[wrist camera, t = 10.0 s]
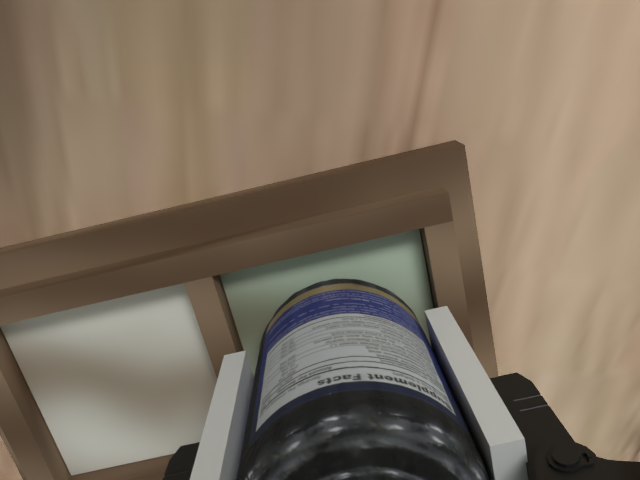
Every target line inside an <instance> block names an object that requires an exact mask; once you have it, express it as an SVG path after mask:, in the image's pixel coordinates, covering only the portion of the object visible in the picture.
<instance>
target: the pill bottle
mask: <svg viewBox="0 0 640 480" xmlns="http://www.w3.org/2000/svg"><path fill="white" fill-rule="evenodd" d="M237 480H491V479H490V476H489V473H488V471H487V468H486V465H485V462H484V460H483V459H482V457H481V454H480V452H479V450H478V448H477V446H476V444H475V441H474V439H473V437H472V435H471V433H470V431H469V429H468V427H467V424H466V422H465V420H464V418H463V416H462V413H461V411H460V409H459V407H458V405H457V402H456V400H455V398H454V396H453V394H452V392H451V390H450V387H449V385H448V383H447V381H446V378H445V376H444V374H443V372H442V369H441V367H440V365H439V363H438V361H437V359H436V357H435V354H434V352H433V350H432V348H431V346H430V344H429V341H428V339H427V337H426V335H425V333H424V331H423V329H422V327H421V325H420V323H419V321H418V319H417V317H416V315H415V314H414V312H413V311H412V309H411V308H410V307H409V306H408V305H407V304H406V303H405V302H404V301H403V300H402V299H400V298H399V297H398V296H397V295H396V294H395V293H393V292H391V291H389V290H388V289H386V288H383V287H381V286H378V285H376V284H373V283H370V282H366V281H363V280H358V279H330V280H326V281H321V282H318V283H315V284H312V285H310V286H308V287H306V288H303V289H302V290H300V291H298V292H295V293H294V294H293V295H291V296H290V297H289V298H288V299H287V300H286V301H285V302H284V303H283V304H282V305H281V306H280V307H279V308H278V309H277V310H276V312H275V314H274V315H273V317H272V319H271V321H270V322H269V323H268V325H267V326H266V329H265V331H264V333H263V336H262V339H261V342H260V347H259V355H258V360H257V365H256V370H255V376H254V383H253V388H252V393H251V399H250V404H249V411H248V417H247V423H246V428H245V434H244V440H243V446H242V452H241V457H240V464H239V469H238V475H237Z"/></svg>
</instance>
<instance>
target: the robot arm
mask: <svg viewBox="0 0 640 480" xmlns="http://www.w3.org/2000/svg"><path fill="white" fill-rule="evenodd" d="M425 317H426V322H427V327H428V333H429V338H430V343H431V348H432V350H433V352H434V354H435V357H436V359H437V361H438V363H439V365H440V367H441V369H442V372H443V374H444V376H445V378H446V381H447V383H448V385H449V387H450V390H451V392H452V394H453V396H454V398H455V400H456V402H457V405H458V407H459V409H460V411H461V413H462V416H463V418H464V420H465V422H466V424H467V427H468V429H469V431H470V433H471V435H472V437H473V439H474V441H475V444H476V446H477V448H478V450H479V452H480V454H481V457H482V459H483V460H484V462H485V465H486V468H487V471H488V473H489V476H490V479H491V480H640V462H630V461H614V460H606V459H603V458H599V457H596V455H595V453H593V452H592V451H591V450H590V449H588V448H587V447H586V446H583V445H581V444H578V443H576V442H574V440H573V439H572V437H571V436H570V435H569V433H568V432H567V430H566V429H565V428H564V426H563V425H562V423H561V422H560V421H559V419H558V418H557V416H556V415H555V414H554V412H553V411H552V409H551V408H550V407H549V406H548V405H547V402H546V401H545V400H544V398H543V397H542V396H541V395H540V393H539V391H538V390H537V388H536V387H535V386H534V384H533V383H532V381H530V380H528V379H527V378H525V377H523V376H522V375H520V374H518V373H513V374H508V375H503V376H499V377H494V378H489V377H488V375H487V373H486V372H485V370H484V368H483V367H482V365H481V363H480V362H479V360H478V358H477V356H476V355H475V353H474V351H473V350H472V348H471V346H470V344H469V343H468V341H467V339H466V338H465V336H464V334H463V333H462V331H461V329H460V327H459V326H458V324H457V322H456V321H455V319H454V317H453V315H452V314H451V312H450V310H449V309H448V307H447V306H444V307H439V308H435V309H430V310H426V311H425ZM253 383H254V375H253V372H252V369H251V365H250V362H249V359H248V356H247V353H246V351H241V352H237V353H232V354H228V355H224V358H223V361H222V365H221V368H220V372H219V376H218V379H217V383H216V386H215V390H214V394H213V397H212V401H211V404H210V408H209V412H208V415H207V419H206V423H205V426H204V430H203V433H202V437H201V441H200V442H197V443H193V444H188V445H183V446H180V447H179V449H178V450H177V451H176V452H175V454H174V455H173V456H172V457H171V459H170V460H169V462H168V465H167V468H166V471H165V474H164V476H165V477H164V478H163V480H237V475H238V469H239V464H240V457H241V452H242V446H243V440H244V434H245V428H246V423H247V417H248V411H249V404H250V399H251V393H252V388H253Z"/></svg>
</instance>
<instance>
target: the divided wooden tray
mask: <svg viewBox="0 0 640 480" xmlns="http://www.w3.org/2000/svg"><path fill="white" fill-rule="evenodd" d="M330 279H358V280H363V281H366V282H370V283H373V284H376V285H378V286H381V287H383V288H386V289H388V290H389V291H391V292H393V293H395V294H396V295H397V296H398V297H399V298H400V299H402V300H403V301H404V302H405V303H406V304H407V305H408V306H409V307H410V308H411V309H412V311H413V312H414V314H415V315H416V317H417V319H418V321H419V323H420V325H421V327H422V329H423V331H424V333H425V335H426V337H427V339H428V341H429V344H430V346H431V343H430V338H429V333H428V327H427V322H426V317H425V311H426V310H430V309H435V308H439V307H444V306H447V307H448V309H449V310H450V312H451V314H452V315H453V317H454V319H455V321H456V322H457V324H458V326H459V327H460V329H461V331H462V333H463V334H464V336H465V338H466V339H467V341H468V343H469V344H470V346H471V348H472V350H473V351H474V353H475V355H476V356H477V358H478V360H479V362H480V363H481V365H482V367H483V368H484V370H485V372H486V373H487V375H488V377H489V378H494V377H498V371H497V364H496V357H495V350H494V343H493V336H492V330H491V323H490V316H489V309H488V302H487V295H486V289H485V282H484V275H483V268H482V261H481V254H480V248H479V241H478V234H477V227H476V220H475V213H474V207H473V200H472V193H471V186H470V179H469V172H468V166H467V159H466V152H465V145H463V144H461V143H459V142H457V141H455V140H454V141H450V142H446V143H442V144H438V145H433V146H429V147H425V148H421V149H416V150H412V151H408V152H404V153H400V154H395V155H391V156H387V157H383V158H378V159H374V160H370V161H366V162H362V163H357V164H353V165H349V166H345V167H341V168H336V169H332V170H328V171H324V172H319V173H315V174H311V175H307V176H303V177H298V178H294V179H290V180H286V181H281V182H277V183H273V184H269V185H265V186H260V187H256V188H252V189H248V190H244V191H239V192H235V193H231V194H227V195H222V196H218V197H214V198H210V199H206V200H201V201H197V202H193V203H189V204H184V205H180V206H176V207H172V208H168V209H163V210H159V211H155V212H151V213H147V214H142V215H138V216H134V217H130V218H125V219H121V220H117V221H113V222H109V223H104V224H100V225H96V226H92V227H87V228H83V229H79V230H75V231H71V232H66V233H62V234H58V235H54V236H50V237H45V238H41V239H37V240H33V241H28V242H24V243H20V244H16V245H12V246H7V247H3V248H0V435H1V437H2V439H3V441H4V443H5V445H6V447H7V449H8V451H9V453H10V455H11V456H12V458H13V460H14V462H15V464H16V466H17V468H18V470H19V472H20V474H21V476H22V478H23V480H163V478H164V477H165V476H164V474H165V471H166V468H167V465H168V462H169V460H170V459H171V457H172V456H173V455H174V454H175V452H176V451H177V450H178V449H179V447H180V446H183V445H188V444H193V443H197V442H200V441H201V437H202V433H203V430H204V426H205V423H206V419H207V415H208V412H209V408H210V404H211V401H212V397H213V394H214V390H215V386H216V383H217V379H218V376H219V372H220V368H221V365H222V361H223V358H224V355H228V354H232V353H237V352H241V351H246V353H247V356H248V359H249V362H250V365H251V369H252V372H253V375H254V376H255V370H256V365H257V360H258V355H259V347H260V342H261V339H262V336H263V333H264V331H265V329H266V326H267V325H268V323H269V322H270V321H271V319H272V317H273V315H274V314H275V312H276V310H277V309H278V308H279V307H280V306H281V305H282V304H283V303H284V302H285V301H286V300H287V299H288V298H289V297H290V296H291V295H293V294H294V293H295V292H298V291H300V290H302V289H303V288H306V287H308V286H310V285H312V284H315V283H318V282H321V281H326V280H330Z"/></svg>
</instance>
